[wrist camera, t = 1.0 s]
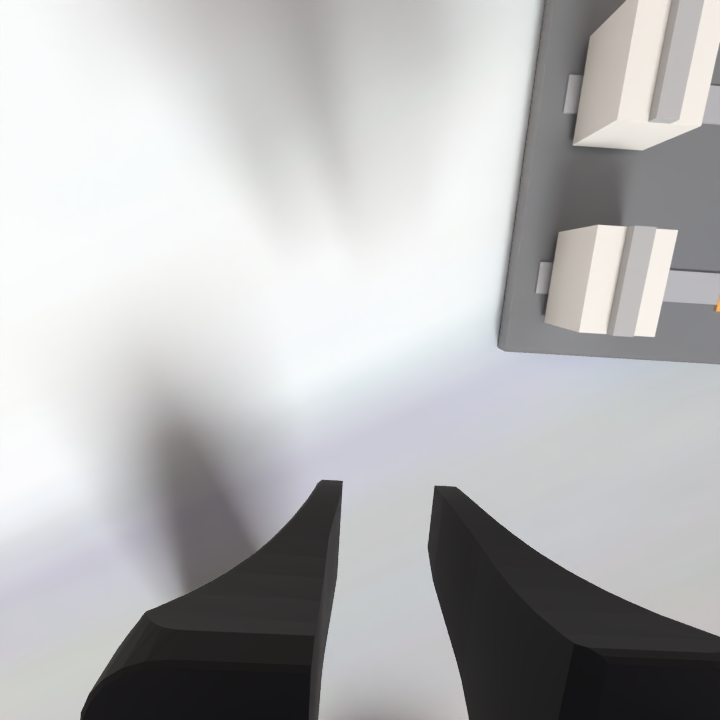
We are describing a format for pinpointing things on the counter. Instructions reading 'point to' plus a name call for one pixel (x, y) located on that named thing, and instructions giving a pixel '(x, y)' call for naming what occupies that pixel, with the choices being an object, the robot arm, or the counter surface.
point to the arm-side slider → (610, 279)
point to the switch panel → (612, 206)
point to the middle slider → (648, 73)
